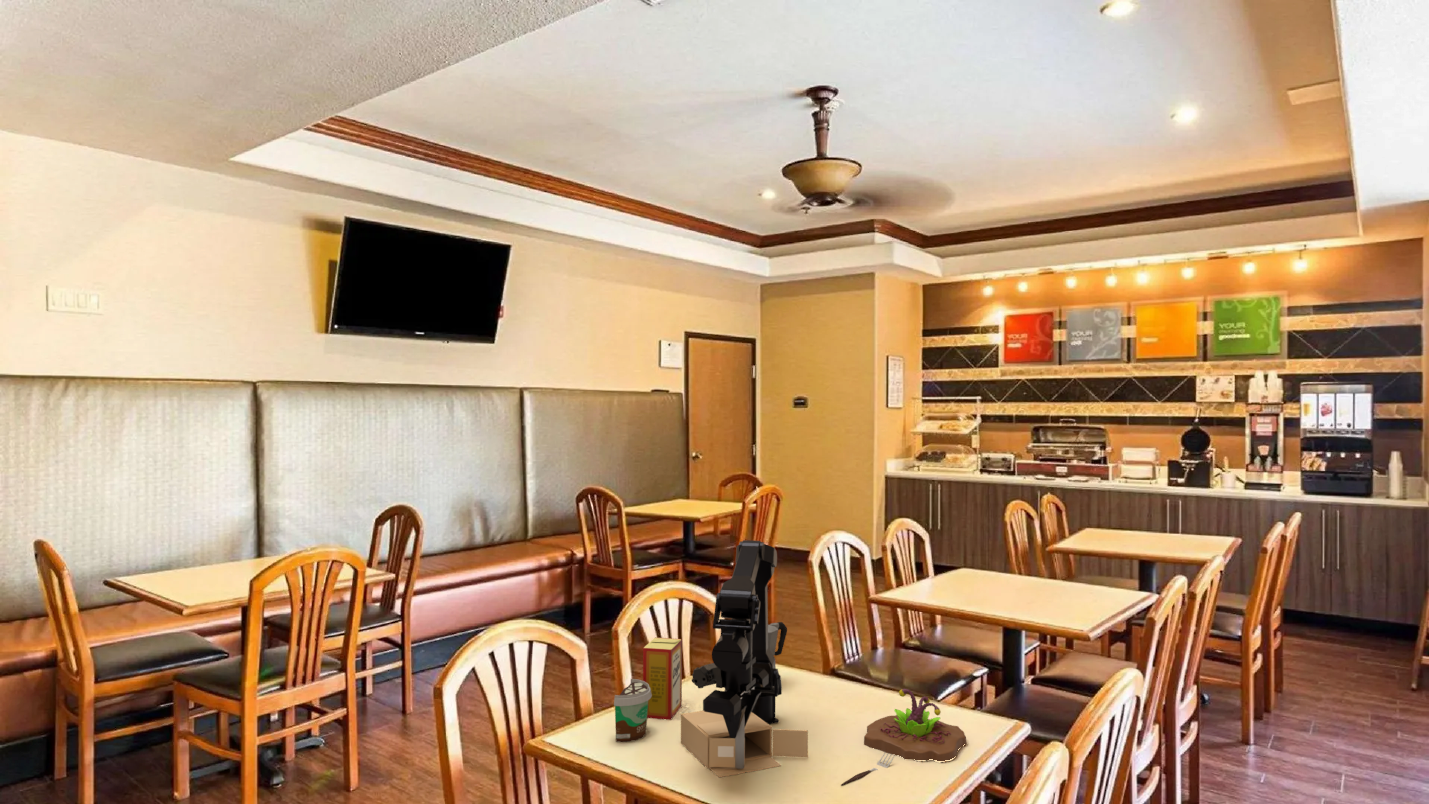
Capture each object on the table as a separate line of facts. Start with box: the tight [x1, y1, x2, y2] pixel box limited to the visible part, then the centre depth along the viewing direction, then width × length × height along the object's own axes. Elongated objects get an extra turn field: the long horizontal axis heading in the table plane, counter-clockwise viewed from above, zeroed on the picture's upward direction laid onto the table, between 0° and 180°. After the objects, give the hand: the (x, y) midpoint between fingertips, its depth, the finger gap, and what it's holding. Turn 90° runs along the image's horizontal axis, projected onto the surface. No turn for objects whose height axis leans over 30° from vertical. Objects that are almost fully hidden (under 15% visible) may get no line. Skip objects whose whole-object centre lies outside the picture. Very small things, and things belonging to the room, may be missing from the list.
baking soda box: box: [642, 636, 683, 721], centre depth 194 cm, size 10×6×16 cm
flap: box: [709, 714, 745, 769], centre depth 162 cm, size 7×2×10 cm, turn 88°
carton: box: [680, 710, 809, 778], centre depth 171 cm, size 20×19×6 cm
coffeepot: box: [768, 621, 788, 687], centre depth 211 cm, size 15×9×18 cm, turn 125°
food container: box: [613, 678, 652, 743], centre depth 180 cm, size 12×6×10 cm, turn 168°
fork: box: [840, 752, 896, 787], centre depth 161 cm, size 3×16×2 cm, turn 135°
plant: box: [863, 688, 967, 761], centre depth 177 cm, size 20×20×11 cm
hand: (736, 733), depth 161 cm, fingers open, 4 cm apart
